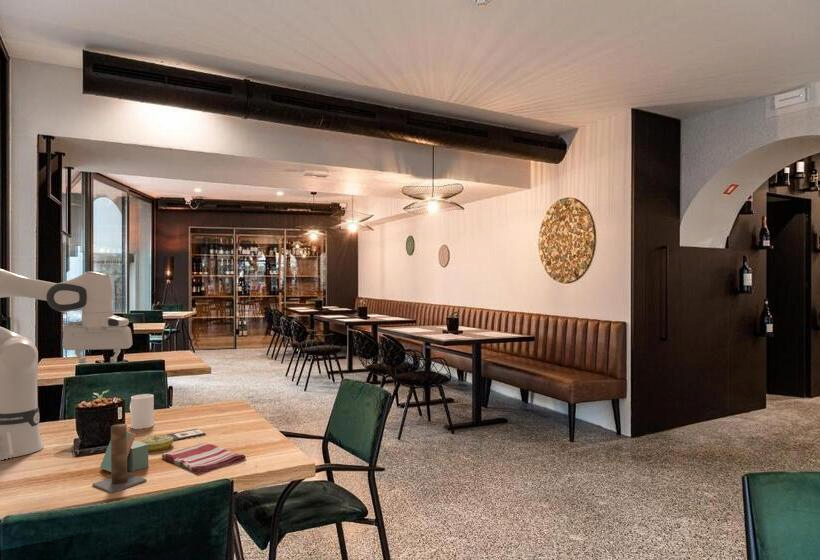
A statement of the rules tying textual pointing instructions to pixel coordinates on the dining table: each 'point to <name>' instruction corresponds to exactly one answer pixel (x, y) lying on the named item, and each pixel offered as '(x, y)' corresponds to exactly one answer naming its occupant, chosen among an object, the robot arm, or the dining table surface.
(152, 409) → the mug
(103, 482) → the coaster
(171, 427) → the dining table surface
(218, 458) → the dish towel
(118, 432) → the dowel
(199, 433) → the chocolate bar
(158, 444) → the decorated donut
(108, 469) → the tile
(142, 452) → the sage green block
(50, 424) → the dining table surface
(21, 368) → the robot arm
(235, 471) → the dining table surface
